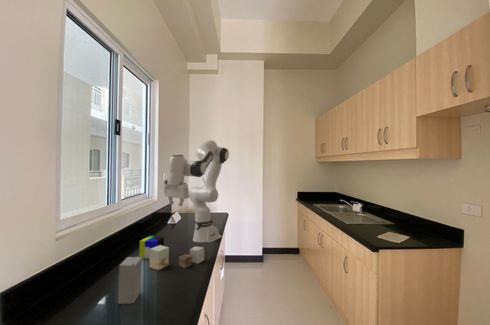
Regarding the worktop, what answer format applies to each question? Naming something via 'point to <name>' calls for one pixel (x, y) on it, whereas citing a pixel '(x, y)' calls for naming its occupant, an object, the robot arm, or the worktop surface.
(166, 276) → the worktop surface
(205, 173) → the robot arm
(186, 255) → the walnut block
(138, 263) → the skincare box
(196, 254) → the skincare box
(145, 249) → the puzzle toy
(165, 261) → the tower base
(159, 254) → the block
